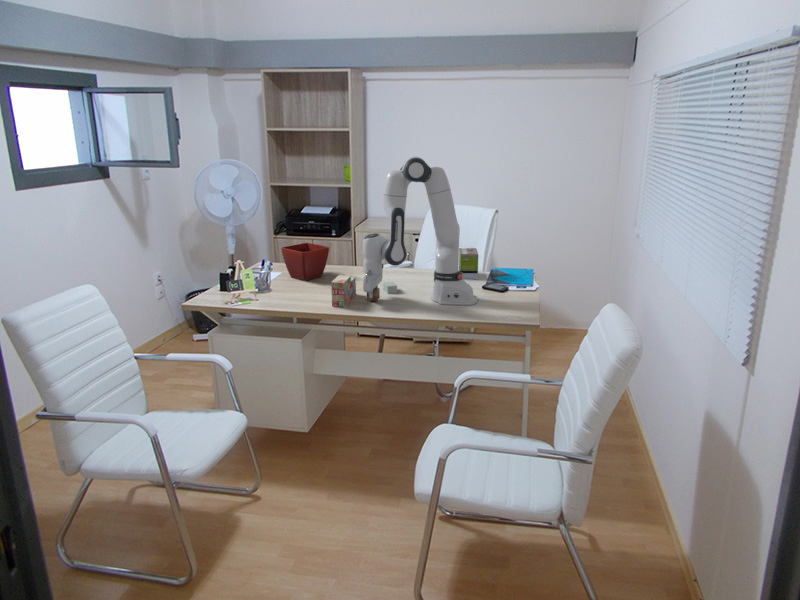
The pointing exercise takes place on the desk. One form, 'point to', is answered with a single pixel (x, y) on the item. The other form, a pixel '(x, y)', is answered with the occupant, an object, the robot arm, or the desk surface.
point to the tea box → (468, 263)
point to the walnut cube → (374, 295)
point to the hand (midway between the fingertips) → (373, 295)
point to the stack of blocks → (343, 290)
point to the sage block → (389, 287)
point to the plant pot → (305, 260)
